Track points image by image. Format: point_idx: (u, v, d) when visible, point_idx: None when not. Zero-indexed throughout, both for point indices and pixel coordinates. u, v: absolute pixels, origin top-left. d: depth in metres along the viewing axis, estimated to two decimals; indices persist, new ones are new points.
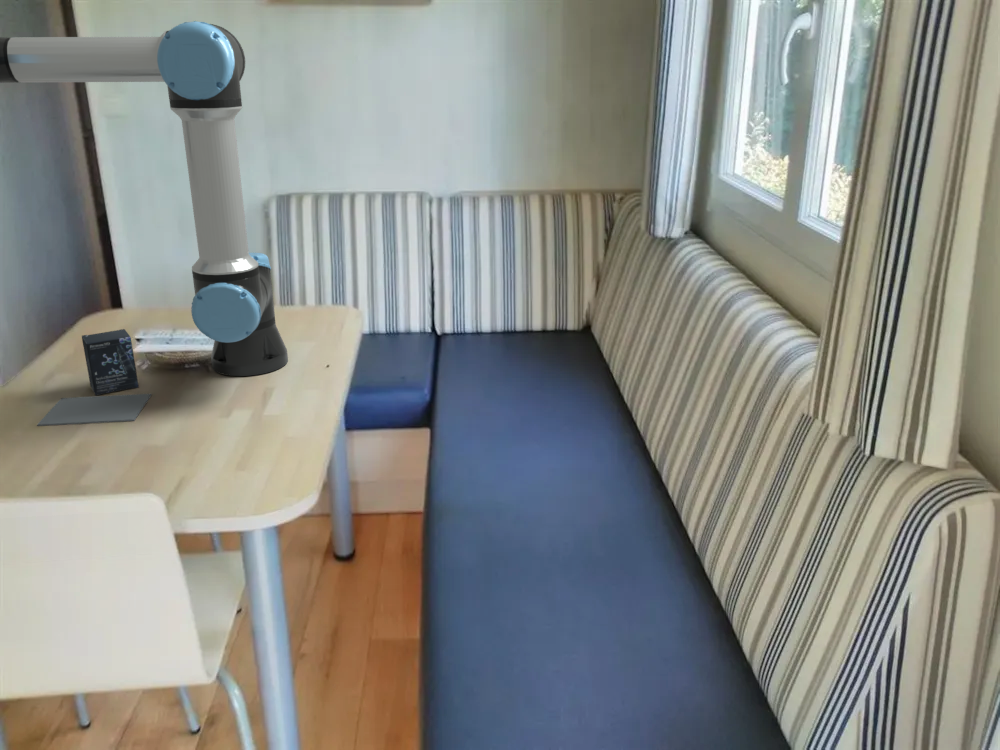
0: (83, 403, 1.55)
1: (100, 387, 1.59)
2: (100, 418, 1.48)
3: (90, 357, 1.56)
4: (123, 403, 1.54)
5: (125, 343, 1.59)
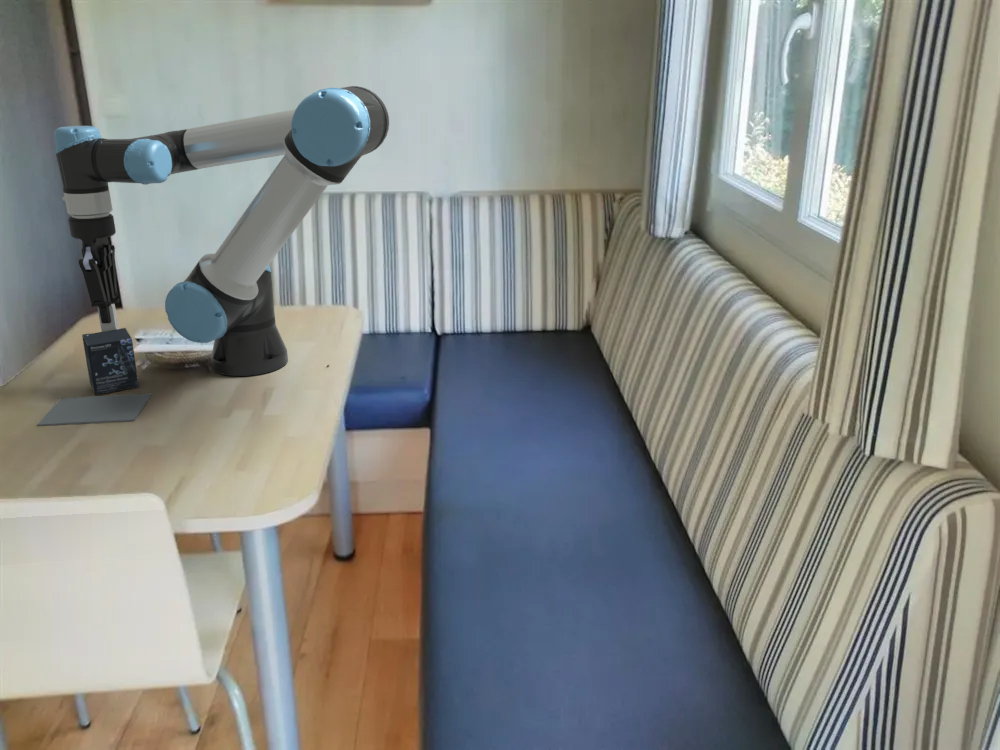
0: (83, 403, 1.55)
1: (100, 387, 1.58)
2: (100, 418, 1.48)
3: (91, 358, 1.55)
4: (123, 403, 1.54)
5: (126, 344, 1.58)
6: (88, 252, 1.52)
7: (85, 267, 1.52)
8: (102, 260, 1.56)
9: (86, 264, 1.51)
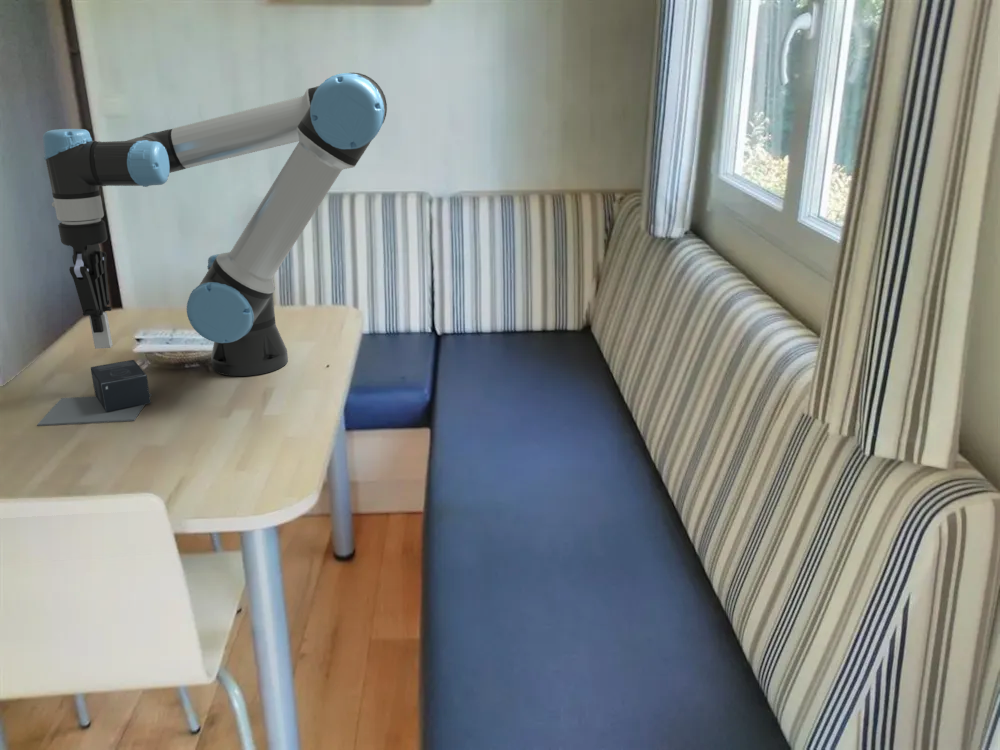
0: (83, 403, 1.55)
1: None
2: (100, 418, 1.48)
3: None
4: None
5: None
6: (79, 259, 1.47)
7: (76, 275, 1.47)
8: (94, 267, 1.51)
9: (77, 271, 1.46)
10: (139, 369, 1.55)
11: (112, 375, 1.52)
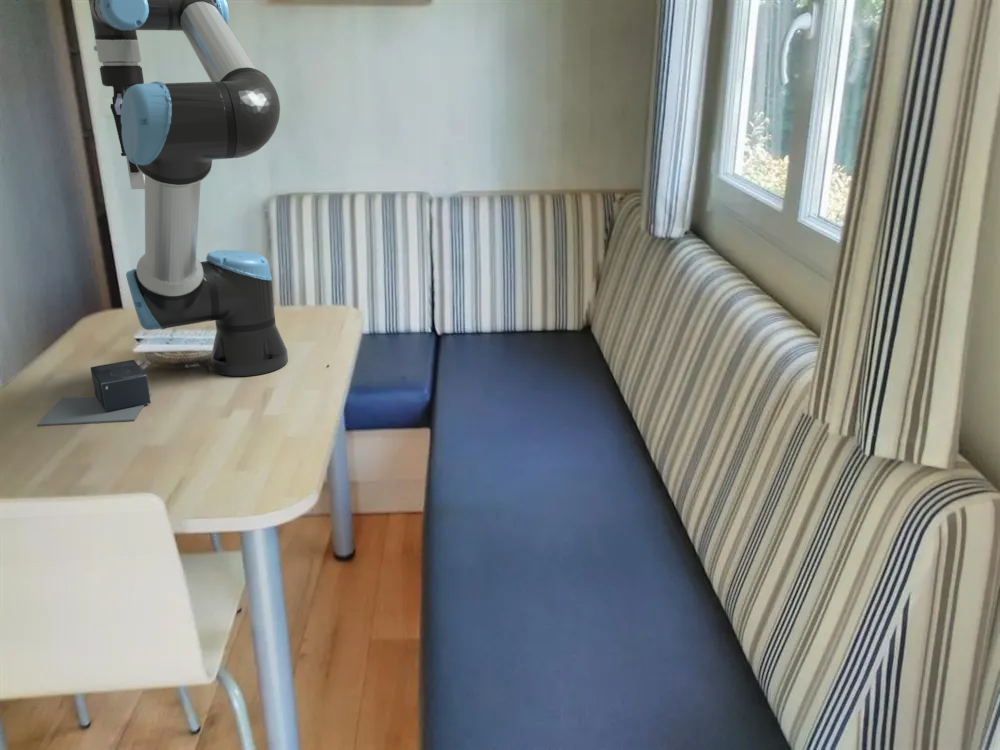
0: (83, 403, 1.55)
1: None
2: (100, 418, 1.48)
3: None
4: None
5: None
6: (119, 98, 1.61)
7: (116, 112, 1.60)
8: None
9: (117, 108, 1.60)
10: (139, 369, 1.55)
11: (112, 375, 1.52)
